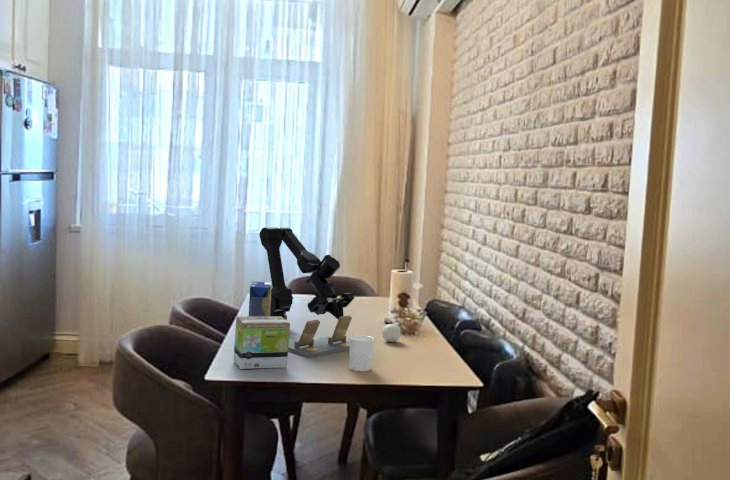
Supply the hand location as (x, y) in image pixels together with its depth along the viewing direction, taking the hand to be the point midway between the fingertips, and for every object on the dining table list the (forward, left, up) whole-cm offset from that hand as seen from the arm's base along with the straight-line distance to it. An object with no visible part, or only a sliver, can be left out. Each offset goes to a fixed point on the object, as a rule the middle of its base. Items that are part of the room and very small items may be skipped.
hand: (342, 321), depth 250 cm
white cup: (+10, -25, -10) cm, 28 cm away
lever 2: (-2, +1, -7) cm, 7 cm away
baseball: (+17, +14, -10) cm, 24 cm away
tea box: (-21, -31, -10) cm, 38 cm away
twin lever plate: (-7, -4, -9) cm, 12 cm away
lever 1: (-12, -9, -7) cm, 16 cm away
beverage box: (-27, -11, -10) cm, 31 cm away
